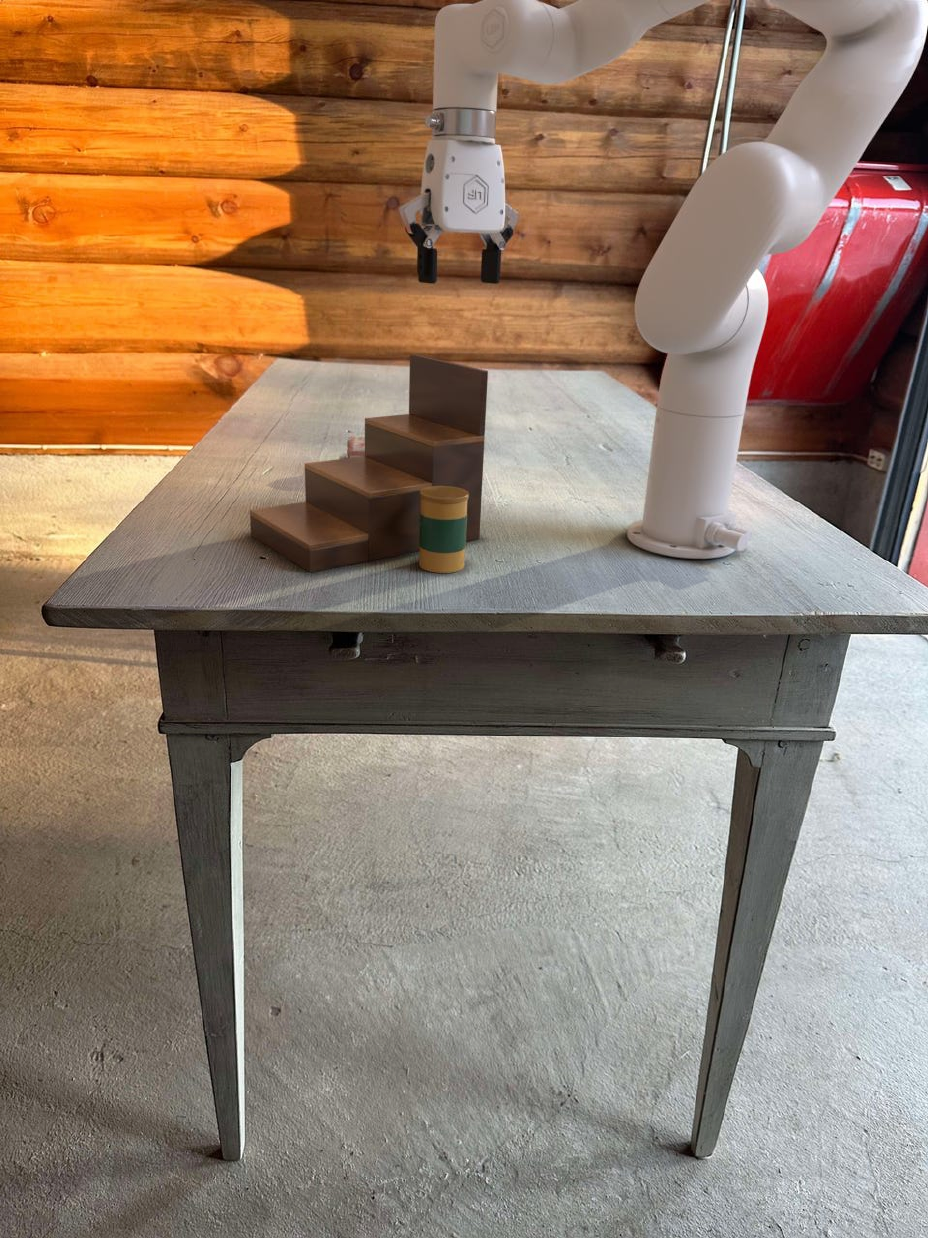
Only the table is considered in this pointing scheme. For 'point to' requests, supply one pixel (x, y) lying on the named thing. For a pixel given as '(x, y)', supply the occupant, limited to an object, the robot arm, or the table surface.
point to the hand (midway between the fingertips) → (459, 282)
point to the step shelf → (388, 476)
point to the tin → (443, 528)
